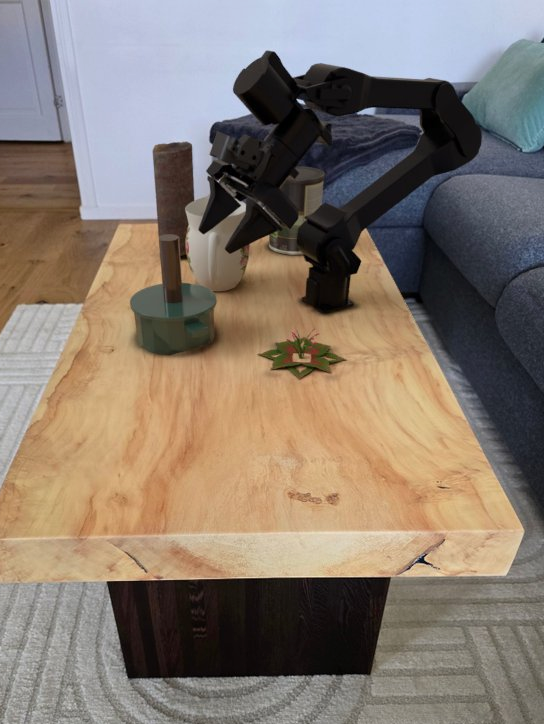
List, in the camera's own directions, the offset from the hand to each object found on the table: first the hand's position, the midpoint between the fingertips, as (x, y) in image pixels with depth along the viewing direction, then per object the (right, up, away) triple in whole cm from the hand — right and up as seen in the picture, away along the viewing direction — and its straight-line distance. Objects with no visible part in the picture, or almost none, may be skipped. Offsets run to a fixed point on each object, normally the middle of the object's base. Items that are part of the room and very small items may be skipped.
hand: (213, 241), depth 90 cm
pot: (-6, -13, +6) cm, 15 cm away
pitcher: (0, -1, +22) cm, 22 cm away
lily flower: (+13, -17, 0) cm, 21 cm away
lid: (-6, -8, +2) cm, 10 cm away
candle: (-8, +9, +34) cm, 36 cm away
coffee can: (+15, +11, +38) cm, 42 cm away
